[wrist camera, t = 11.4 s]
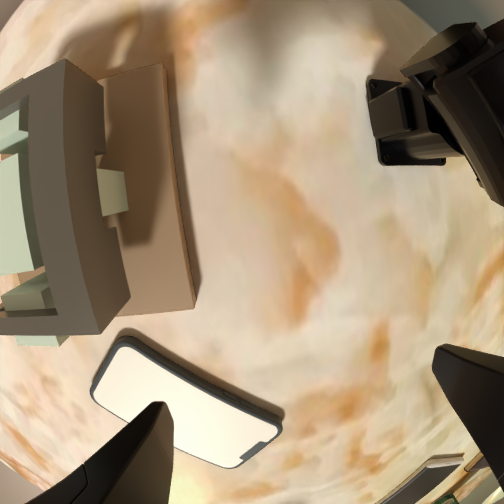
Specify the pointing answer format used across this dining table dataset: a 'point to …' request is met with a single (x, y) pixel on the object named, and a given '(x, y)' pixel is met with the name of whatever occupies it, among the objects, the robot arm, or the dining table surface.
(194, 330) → the dining table surface
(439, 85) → the robot arm
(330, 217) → the dining table surface
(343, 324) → the dining table surface
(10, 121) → the green blocks on base
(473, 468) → the hardcover book
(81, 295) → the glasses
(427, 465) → the smartphone
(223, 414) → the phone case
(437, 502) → the canned tomato
